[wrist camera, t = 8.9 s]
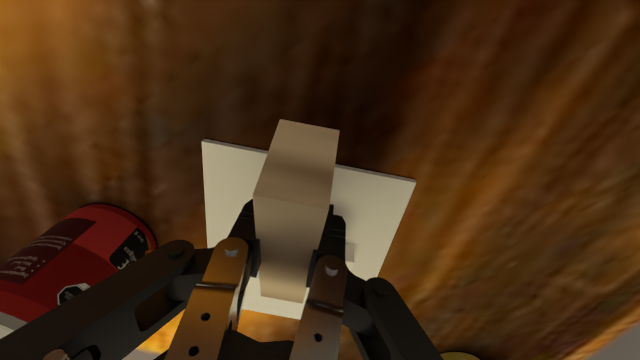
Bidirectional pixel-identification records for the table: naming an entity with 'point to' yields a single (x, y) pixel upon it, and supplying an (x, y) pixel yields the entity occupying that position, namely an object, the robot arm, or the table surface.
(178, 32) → the table surface
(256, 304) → the tile
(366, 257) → the mat
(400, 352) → the robot arm
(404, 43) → the table surface
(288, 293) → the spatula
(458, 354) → the plant pot
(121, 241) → the canned food
